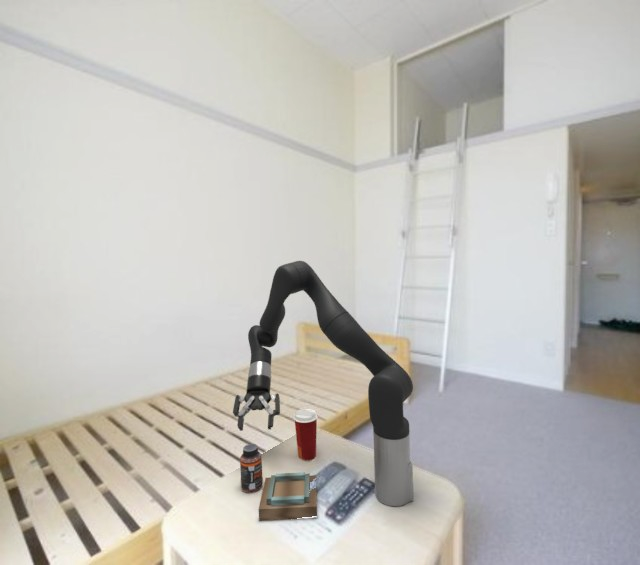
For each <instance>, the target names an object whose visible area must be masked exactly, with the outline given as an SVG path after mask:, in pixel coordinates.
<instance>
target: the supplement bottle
mask: <svg viewBox="0 0 640 565" xmlns="http://www.w3.org/2000/svg"><path fill="white" fill-rule="evenodd" d="M262 457H263V456H262V453H261V452H260V451H259V449H258V445H257V444H255V443H248V444H246V445H244V446H243V448H242V454H241V455H240V458H239V461H240V462H239V465H240V466H239V467H240V484H241V485H240V488H241V490H242V491H243V492H245V493H254V492H257V491H259V490H261V488H262V486H263V485H264V480H263V462H262V461H263V458H262Z"/></svg>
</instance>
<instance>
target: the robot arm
mask: <svg viewBox="0 0 640 565" xmlns="http://www.w3.org/2000/svg"><path fill="white" fill-rule="evenodd" d="M302 291H303V292H305V293H306V294H307V296H308V297H309V298H310V299H311V300H312V302H313V304H314V308H315V311H316V317H317V324H318V326H319V328H320V330H321V331H322V333H323V335H325V336H326V338H327V339H328V340H329V341H330V342H331V344H332V345H333V346H334V347H335V348H336V349H338V350H340V351H341V352H342V353H344V354H346V355H348V356H349V357H351V358H353V359H355V360H357V361H358V362H359V363H361V364H362V365H363V366H364V367H365V368H366V369H367V370H368V371H369V372H370V373H371V375H372V378H371V379H370V381H369V383H368V390H367V392H368V395H367V398H368V409H369V410H368V411H369V418H370V422H371V424H372V429H373V430H372V431H373V432H372V433H373V434H372V435H373V462H374V463H373V464H374V466H373V467H374V493H375V494H376V495H375V494H374V495H375V497H376V499H377V500H378V501H379V502H380V503H382V504H384V505H386V506H389V507H402V506H404V505H406V504H408V503H409V502H414V479H413V478H414V471H413V470H414V469H413V468H414V467H413V464H412V462H411V444H410V443H411V442H410V440H411V439H410V438H411V437H410V422H409V420H408V419H407V417H405V416H404V402H405V401H406V400H407V399H409V397H410V396H411V395H412V393H413V389H414V386H413V384H414V383H413V380H412V378H411V376H410V375H409V373H408V371H406V370H405V369H404V368H403V367H402V366H401V365H400V364H399V363H398V362H396V360H394V359H393V358H392V356H390V355H389V354H388V353H387V352H385V351H384V350H383V349H382V348H381V347H380V345H378V344H377V342H376V341H375V340H374V339H373V337H371V336H370V334H368V333H367V331H366V330H365V329H364V328H363V327H362V325H360V324H359V322H358V321H357V320H356V319H355V318H354V317H353V316H352V314H350V312H349V311H348V310H347V309H346V308H344V306H342V304H341V303H340V302H339V300H338V299H337V298H336V297H335V296H334V295H333V293H331V291H330V290H329V289H328V288H327V286H326V285H325V284H324V283H323V281H322V279H321V278H320V277H319V276H318V274H317V273H316V271H315V270H314V268H312V266H310V264H309V263H307V262H306V261H305V260H304V261H303V260H297V261H293V262H289V263H285V264H282V265H280V266H278V267H277V268H276V270H275V273H274V275H273V279H272V282H271V287H270V291H269V296H268V301H267V304H266V306H265V309H264V311H263V313H262V315H261V317H260V319H259V324H257V325H256V324H255V325H254V324H253V326H251V327H250V329H249V330H248V332H247V333H248V335H247V337H248V343H249V348H250V364H249V368H248V375H247V383H246V384H247V385H246V394H245V396H244V395H243V396H240V395H239V394H237V395H235V399H234V402H233V403H234V404H233V410H232V414H233V416H234V417H235V418H236V417H237V418H238V419H237V429H239V431H240V432H241V431H244V430H243V429H244V421H245V417H246V415H247V414H249V412H250V411H251V410H252V411H263V410H265V411H266V413H268V416H267V417H268V418H267V429H268V431H269V430H272V428H273V427H274V419H275V418H274V417H275V416H279V415H280V414H281V398H280V394H279V393H275V394H273V395H272V394H271V382H272V357H273V356H272V351H271V350H270V349H268V348H272V347H274V346H275V345H276V344H277V341H278V337H279V336H278V333H279V329H280V326H281V324H282V323H283V321H284V319H285V316H286V306H285V304H284V303H285V302H286V300H287V299H288V298H289V297H290V295H292V294H297V293H298V292H302ZM271 401H272V402H273V403H274V406H275V407H274V408H275V409H272V407H270V405H269V403H270V402H271ZM243 402H245V404H244V405H243V406H242V409H240V407H241V404H243Z"/></svg>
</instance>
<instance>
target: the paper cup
mask: <svg viewBox="0 0 640 565" xmlns="http://www.w3.org/2000/svg"><path fill="white" fill-rule="evenodd" d="M318 417H319V416H318V414H317V411H316V410H314V409H312V408H300V409H298V410H296V411H295V413H294V415H293V420H294V426H295V436H296V446H297V454H298V458H299V460H302V461H312V460H313V459H315V457H316V456H317V427H318V426H317V420H318Z"/></svg>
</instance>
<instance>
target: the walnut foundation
mask: <svg viewBox="0 0 640 565" xmlns="http://www.w3.org/2000/svg"><path fill="white" fill-rule="evenodd" d="M310 474H311V473H306V472H304V471H303V472H291V473H290V472H283V473H275V474H273V475H272V474H271V475H270V477H265V478H264V479H265V480H264V481H263V488H262V491H261V492H262V493H261V496H260V501H259V504H258V505H259V506H258V522H270V521H271V522H272V521H286V520H287V521H288V520H291V519H292V520H298V519H297V518H302V517H312V516H317V517H318V493H317V492H318V491H317V492H316V488H314V489H312V490H311V491H309V490H310V482H312V481H313V479H315V478H316V479H317V475H313V474H312V475H310ZM309 492H310V493H309Z"/></svg>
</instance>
